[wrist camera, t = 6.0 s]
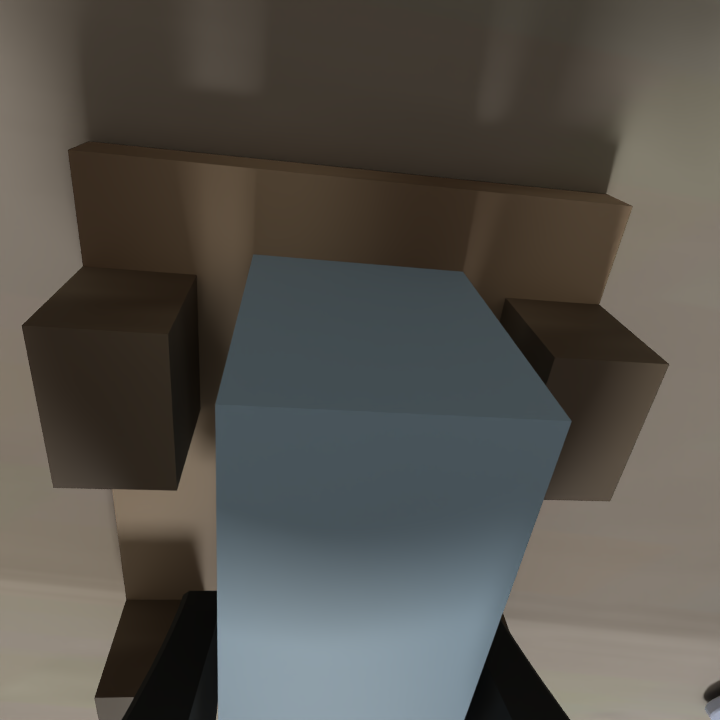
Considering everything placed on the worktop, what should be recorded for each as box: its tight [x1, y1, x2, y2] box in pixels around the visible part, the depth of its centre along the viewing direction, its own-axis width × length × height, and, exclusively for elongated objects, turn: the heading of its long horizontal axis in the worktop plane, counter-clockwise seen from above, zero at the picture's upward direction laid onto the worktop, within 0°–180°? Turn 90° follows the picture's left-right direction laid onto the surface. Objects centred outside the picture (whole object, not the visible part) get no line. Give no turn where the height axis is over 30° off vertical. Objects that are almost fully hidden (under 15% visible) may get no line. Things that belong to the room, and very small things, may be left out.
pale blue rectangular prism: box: [215, 254, 572, 720], centre depth 12 cm, size 4×14×5 cm, turn 173°
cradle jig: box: [22, 142, 669, 720], centre depth 13 cm, size 10×16×4 cm, turn 174°
